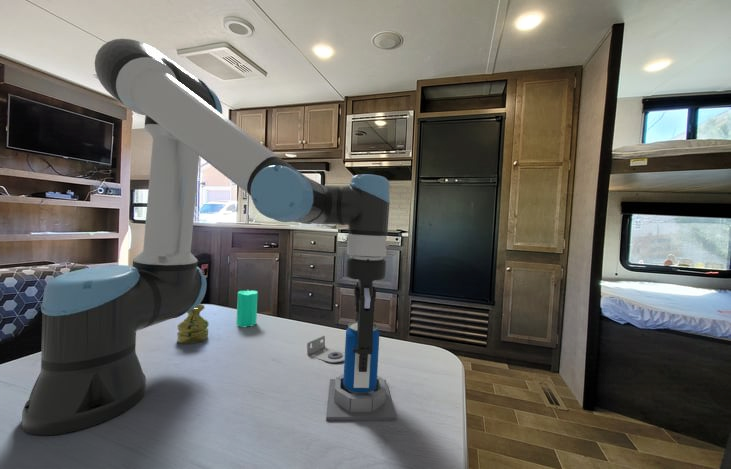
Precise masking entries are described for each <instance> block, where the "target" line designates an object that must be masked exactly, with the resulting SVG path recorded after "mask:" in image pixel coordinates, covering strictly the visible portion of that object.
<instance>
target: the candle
mask: <svg viewBox="0 0 731 469" xmlns="http://www.w3.org/2000/svg"><path fill="white" fill-rule="evenodd" d="M258 294H259V291H257V290H239V291H237V298H236V299H237V300H236V301H237V303H236V304H237V305H236V322H235V323H236V324H237V325H238V326H237V325H236V326H237V327H239V326H250V327H252V326H251V325H253V326H255V325H256V324H257V316H258V296H259V295H258ZM255 323H256V324H255ZM254 324H255V325H254Z"/></svg>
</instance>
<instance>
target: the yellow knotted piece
mask: <svg viewBox="0 0 731 469" xmlns="http://www.w3.org/2000/svg"><path fill="white" fill-rule="evenodd" d="M203 310H205V305H204V304H202V303H200V304H199V305H198V306H197V307H196V308H194V309H193V310H191V311H189V312H187V314H188V315H187V317H186V318H184V319H183V320H182V321H180V322H179V323H178V325H177V331H178V332H177V342H178V343H180V344H182V345H183V344H185V345H188V344H189V345H192V344H196V343H201V342H203V341H205V340H206V339H208V337H209V328H208V327H209V325H210V324H209V321H208V320H207V319H206V318H204V317H203V316H201V315H200V314H201V311H202V312H203Z"/></svg>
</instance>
